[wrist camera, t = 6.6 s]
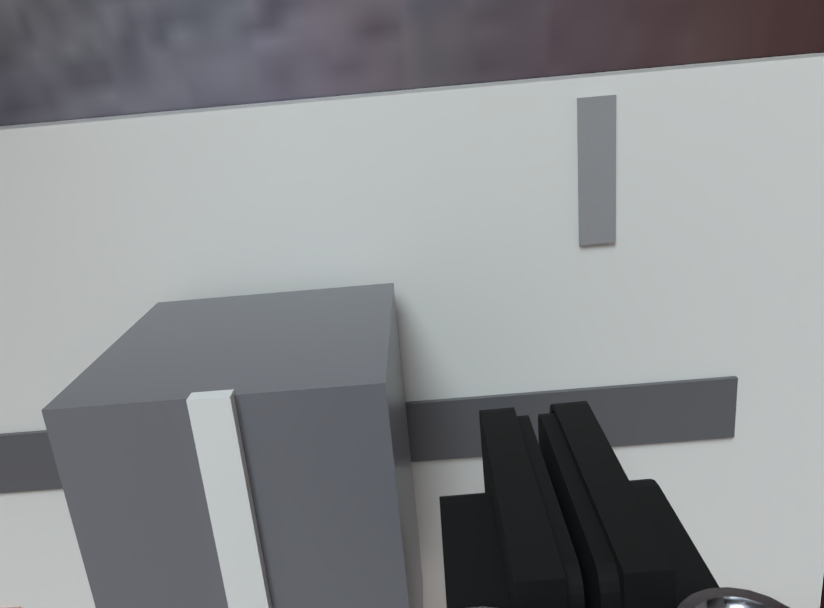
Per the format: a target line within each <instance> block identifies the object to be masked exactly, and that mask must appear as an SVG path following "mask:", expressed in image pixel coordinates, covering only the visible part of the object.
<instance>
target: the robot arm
mask: <svg viewBox="0 0 824 608" xmlns="http://www.w3.org/2000/svg"><path fill="white" fill-rule="evenodd" d="M479 419H480V433H481V447H482V460H483V474H484V487H485V493H475V494H463V495H451V496H439V499H440V515H441V530H442V545H443V560H444V575H445V590H446V605H447V608H790V607H788V606H786V605H784V604H783V603H781V602H779V601H777V600H775V599H773V598H771V597H769V596H766V595H763V594H760V593H757V592H754V591H751V590H746V589H739V588H731V587H721V588H720V587H719V585H718V584H717V582H716V580H715V579H714V577H713V575H712V574H711V572H710V570H709V568H708V567H707V565H706V563H705V562H704V560H703V558H702V557H701V555H700V553H699V552H698V550H697V548H696V547H695V545H694V543H693V542H692V540H691V538H690V537H689V535H688V533H687V532H686V530H685V528H684V526H683V525H682V523H681V521H680V520H679V518H678V516H677V515H676V513H675V511H674V510H673V508H672V506H671V505H670V503H669V501H668V500H667V498H666V496H665V495H664V493H663V491H662V489H661V488H660V486H659V485H658V483H657V482H656V481H655V480H653V479H641V480H629V479H628V477H627V475H626V474H625V472H624V470H623V468H622V466H621V464H620V462H619V460H618V458H617V457H616V455H615V453H614V451H613V449H612V447H611V445H610V443H609V441H608V440H607V438H606V436H605V434H604V432H603V430H602V428H601V426H600V424H599V423H598V421H597V419H596V417H595V415H594V413H593V411H592V409H591V407H590V406H589V404H588V402H587V401H579V402H567V403H556V404H551V405H550V413H546V414H539V415H538V437H539V444H538V441H537V438H536V435H535V432H534V429H533V426H532V423H531V420H530V418H529V415H523V416H517V415H516V412H515V409H514V407H510V408H499V409H487V410H479Z"/></svg>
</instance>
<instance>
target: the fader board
mask: <svg viewBox="0 0 824 608" xmlns="http://www.w3.org/2000/svg"><path fill="white" fill-rule="evenodd" d="M386 283H394V292H395V302H396V313H397V323H398V333H399V343H400V353H401V364H402V374H403V384H404V394H405V404H406V415H407V425H408V435H409V445H410V455H411V466H412V476H413V486H414V496H415V506H416V517H417V527H418V537H419V547H420V557H421V568H422V578H423V608H447V605H446V590H445V575H444V560H443V545H442V530H441V515H440V499H439V496H451V495H463V494H475V493H485V487H484V474H483V460H482V447H481V433H480V419H479V410H487V409H499V408H510V407H514V409H515V412H516V415H517V416H523V415H529V418H530V420H531V423H532V426H533V429H534V432H535V435H536V438H537V441H538V444H539V437H538V415H539V414H546V413H550V405H551V404H556V403H567V402H579V401H587V402H588V404H589V406H590V407H591V409H592V411H593V413H594V415H595V417H596V419H597V421H598V423H599V424H600V426H601V428H602V430H603V432H604V434H605V436H606V438H607V440H608V441H609V443H610V445H611V447H612V449H613V451H614V453H615V455H616V457H617V458H618V460H619V462H620V464H621V466H622V468H623V470H624V472H625V474H626V475H627V477H628V479H629V480H641V479H653V480H655V481H656V482H657V483H658V485H659V486H660V488H661V489H662V491H663V493H664V495H665V496H666V498H667V500H668V501H669V503H670V505H671V506H672V508H673V510H674V511H675V513H676V515H677V516H678V518H679V520H680V521H681V523H682V525H683V526H684V528H685V530H686V532H687V533H688V535H689V537H690V538H691V540H692V542H693V543H694V545H695V547H696V548H697V550H698V552H699V553H700V555H701V557H702V558H703V560H704V562H705V563H706V565H707V567H708V568H709V570H710V572H711V574H712V575H713V577H714V579H715V580H716V582H717V584H718V585H719V587H720V588H721V587H731V588H739V589H746V590H751V591H754V592H757V593H760V594H763V595H766V596H769V597H771V598H773V599H775V600H777V601H779V602H781V603H783V604H784V605H786V606H788V607H790V608H820V601H821V592H822V584H823V575H824V53H812V54H801V55H790V56H779V57H768V58H756V59H745V60H734V61H723V62H712V63H701V64H690V65H678V66H667V67H656V68H645V69H634V70H623V71H611V72H600V73H589V74H578V75H567V76H556V77H545V78H533V79H522V80H511V81H500V82H489V83H478V84H467V85H455V86H444V87H433V88H422V89H411V90H400V91H389V92H377V93H366V94H355V95H344V96H333V97H322V98H311V99H299V100H288V101H277V102H266V103H255V104H244V105H232V106H221V107H210V108H199V109H188V110H177V111H166V112H154V113H143V114H132V115H121V116H110V117H99V118H88V119H76V120H65V121H54V122H43V123H32V124H21V125H10V126H0V608H96V607H95V603H94V600H93V596H92V592H91V589H90V585H89V581H88V578H87V574H86V571H85V567H84V563H83V560H82V556H81V552H80V549H79V545H78V542H77V538H76V534H75V531H74V527H73V524H72V520H71V516H70V513H69V509H68V505H67V502H66V498H65V495H64V491H63V487H62V484H61V480H60V476H59V473H58V469H57V466H56V462H55V458H54V455H53V451H52V447H51V444H50V440H49V437H48V433H47V429H46V426H45V422H44V418H43V415H42V411H41V410H42V409H43V408H44V407H45V406H46V405H48V404H49V403H50V402H51V401H52V400H53V399H54V398H55V397H56V396H57V395H58V394H59V393H60V392H62V391H63V390H64V389H65V388H66V387H67V386H68V385H69V384H70V383H71V382H72V381H73V380H75V379H76V378H77V377H78V376H79V375H80V374H81V373H82V372H83V371H84V370H85V369H86V368H87V367H89V366H90V365H91V364H92V363H93V362H94V361H95V360H96V359H97V358H98V357H99V356H100V355H102V354H103V353H104V352H105V351H106V350H107V349H108V348H109V347H110V346H111V345H112V344H113V343H114V342H116V341H117V340H118V339H119V338H120V337H121V336H122V335H123V334H124V333H125V332H126V331H127V330H128V329H130V328H131V327H132V326H133V325H134V324H135V323H136V322H137V321H138V320H139V319H140V318H141V317H143V316H144V315H145V314H146V313H147V312H148V311H149V310H150V309H151V308H152V307H153V306H154V305H155V304H157V303H158V302H169V301H181V300H193V299H205V298H217V297H229V296H241V295H253V294H265V293H278V292H290V291H302V290H314V289H326V288H338V287H350V286H362V285H374V284H386Z"/></svg>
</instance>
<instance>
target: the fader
mask: <svg viewBox="0 0 824 608" xmlns="http://www.w3.org/2000/svg"><path fill="white" fill-rule="evenodd" d="M41 411H42V415H43V418H44V422H45V426H46V429H47V433H48V437H49V440H50V444H51V447H52V451H53V455H54V458H55V462H56V466H57V469H58V473H59V476H60V480H61V484H62V487H63V491H64V495H65V498H66V502H67V505H68V509H69V513H70V516H71V520H72V524H73V527H74V531H75V534H76V538H77V542H78V545H79V549H80V552H81V556H82V560H83V563H84V567H85V571H86V574H87V578H88V581H89V585H90V589H91V592H92V596H93V600H94V603H95V607H96V608H423V578H422V568H421V557H420V547H419V537H418V527H417V517H416V506H415V496H414V486H413V476H412V466H411V455H410V445H409V435H408V425H407V415H406V404H405V394H404V384H403V374H402V364H401V353H400V343H399V333H398V323H397V313H396V302H395V292H394V283H386V284H374V285H362V286H350V287H338V288H326V289H314V290H302V291H290V292H278V293H265V294H253V295H241V296H229V297H217V298H205V299H193V300H181V301H169V302H158V303H157V304H155V305H154V306H153V307H152V308H151V309H150V310H149V311H148V312H147V313H146V314H145V315H144V316H143V317H141V318H140V319H139V320H138V321H137V322H136V323H135V324H134V325H133V326H132V327H131V328H130V329H128V330H127V331H126V332H125V333H124V334H123V335H122V336H121V337H120V338H119V339H118V340H117V341H116V342H114V343H113V344H112V345H111V346H110V347H109V348H108V349H107V350H106V351H105V352H104V353H103V354H102V355H100V356H99V357H98V358H97V359H96V360H95V361H94V362H93V363H92V364H91V365H90V366H89V367H87V368H86V369H85V370H84V371H83V372H82V373H81V374H80V375H79V376H78V377H77V378H76V379H75V380H73V381H72V382H71V383H70V384H69V385H68V386H67V387H66V388H65V389H64V390H63V391H62V392H60V393H59V394H58V395H57V396H56V397H55V398H54V399H53V400H52V401H51V402H50V403H49V404H48V405H46V406H45V407H44V408H43V409H42V410H41Z"/></svg>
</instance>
